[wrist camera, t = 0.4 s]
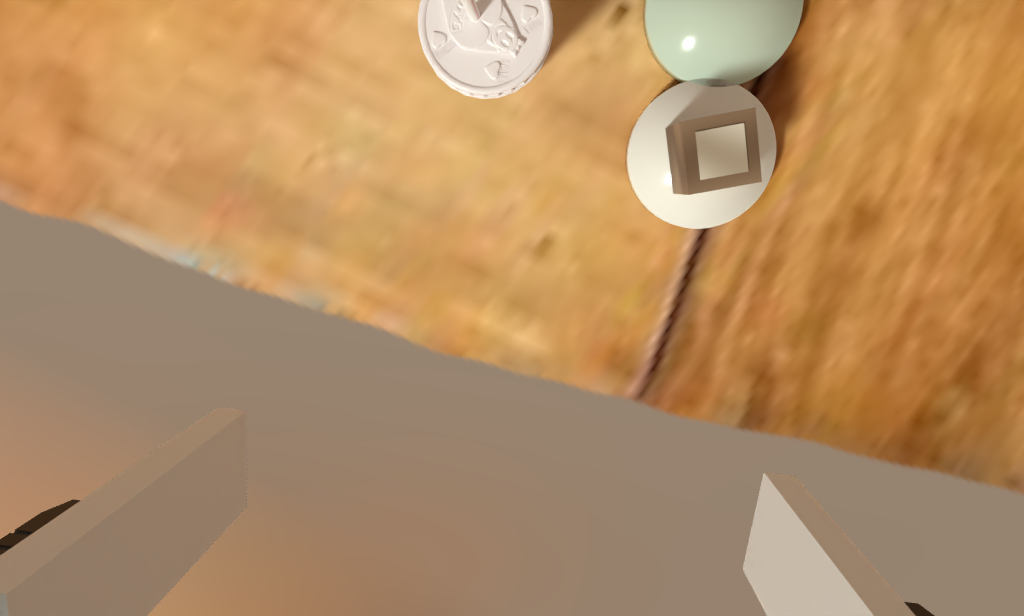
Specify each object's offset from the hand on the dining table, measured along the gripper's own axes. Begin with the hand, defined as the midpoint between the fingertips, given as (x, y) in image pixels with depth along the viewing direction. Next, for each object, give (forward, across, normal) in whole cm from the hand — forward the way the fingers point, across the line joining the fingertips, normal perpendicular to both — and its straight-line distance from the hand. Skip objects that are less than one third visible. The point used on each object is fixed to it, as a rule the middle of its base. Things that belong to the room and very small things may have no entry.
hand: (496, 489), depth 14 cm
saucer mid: (+25, +10, +19) cm, 33 cm away
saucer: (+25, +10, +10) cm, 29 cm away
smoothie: (+25, -3, +15) cm, 29 cm away
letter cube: (+24, +10, +10) cm, 28 cm away
